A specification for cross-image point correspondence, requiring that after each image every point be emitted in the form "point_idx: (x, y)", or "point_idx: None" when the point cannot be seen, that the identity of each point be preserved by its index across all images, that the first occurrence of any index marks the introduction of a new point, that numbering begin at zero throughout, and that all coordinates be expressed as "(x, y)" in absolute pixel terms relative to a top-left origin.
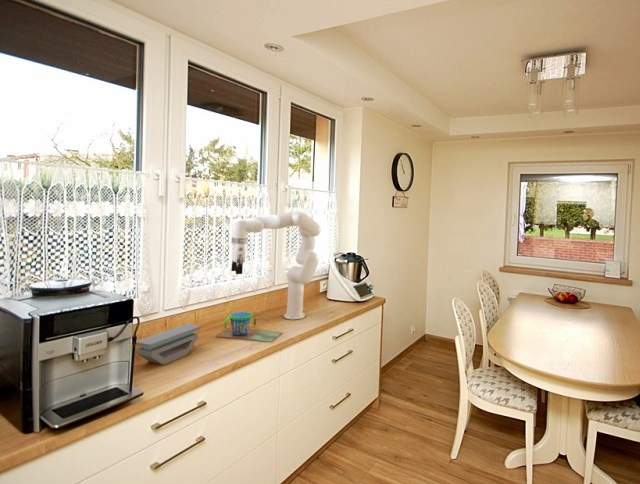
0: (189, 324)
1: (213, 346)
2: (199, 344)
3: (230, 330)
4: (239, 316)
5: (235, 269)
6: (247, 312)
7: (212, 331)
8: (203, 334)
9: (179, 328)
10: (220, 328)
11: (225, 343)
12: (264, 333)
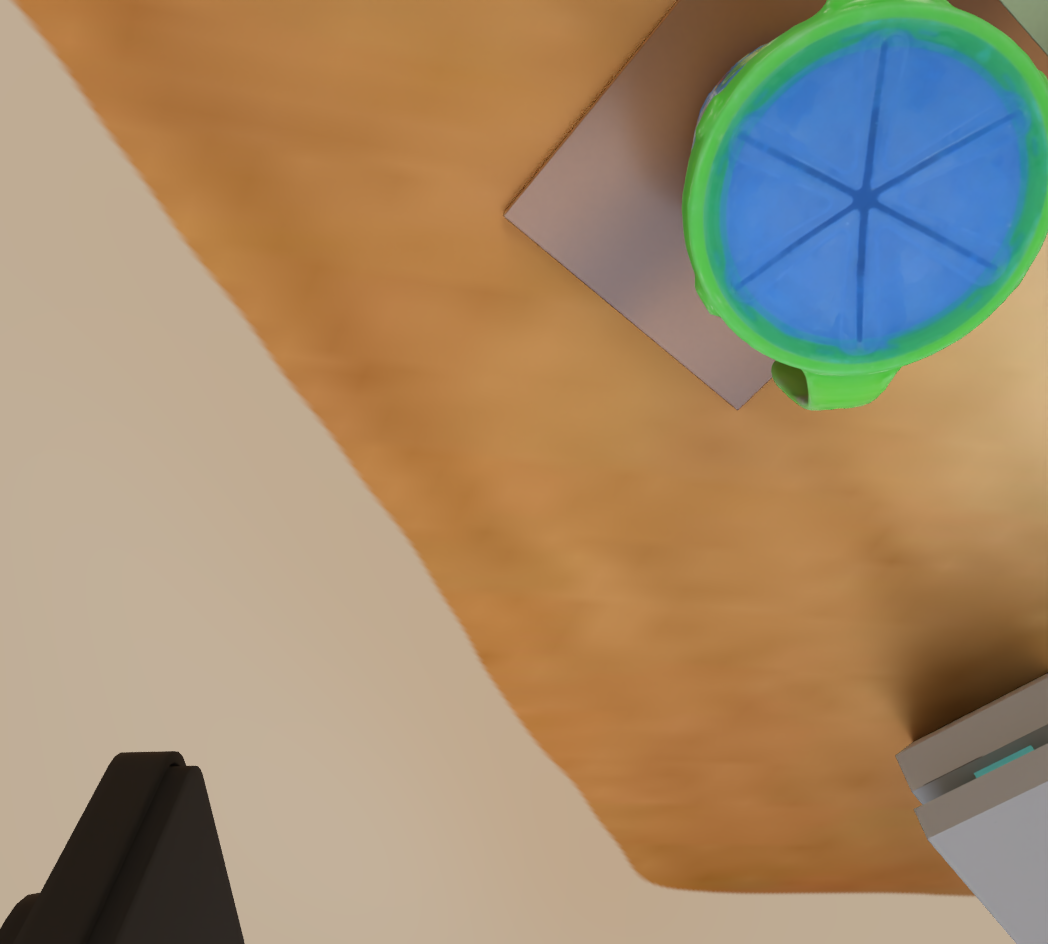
0: (968, 823)
1: (1005, 469)
2: (863, 568)
3: (606, 233)
4: (892, 229)
5: (194, 904)
6: (794, 57)
7: (516, 418)
8: (578, 509)
9: (1045, 895)
10: (438, 323)
11: (1000, 353)
12: None
